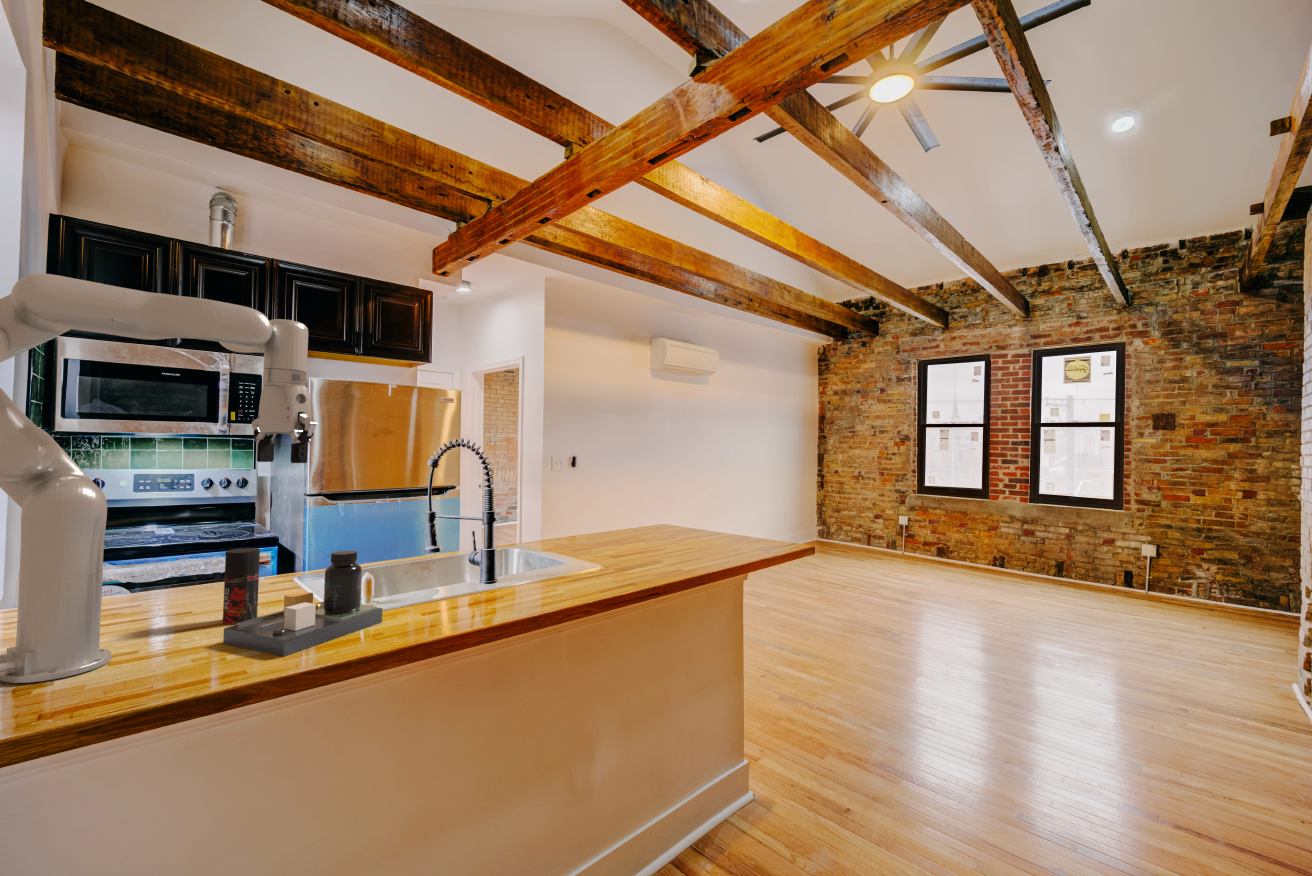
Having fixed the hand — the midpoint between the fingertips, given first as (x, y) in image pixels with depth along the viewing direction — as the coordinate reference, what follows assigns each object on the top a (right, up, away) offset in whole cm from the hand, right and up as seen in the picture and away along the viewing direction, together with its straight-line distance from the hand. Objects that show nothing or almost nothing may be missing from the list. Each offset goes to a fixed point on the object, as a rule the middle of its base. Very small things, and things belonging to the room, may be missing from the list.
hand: (281, 462), depth 115 cm
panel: (+7, -34, -3) cm, 35 cm away
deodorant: (-12, -34, +4) cm, 37 cm away
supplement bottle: (+11, -31, +2) cm, 33 cm away
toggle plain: (+9, -31, -9) cm, 34 cm away
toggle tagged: (+4, -31, 0) cm, 32 cm away
